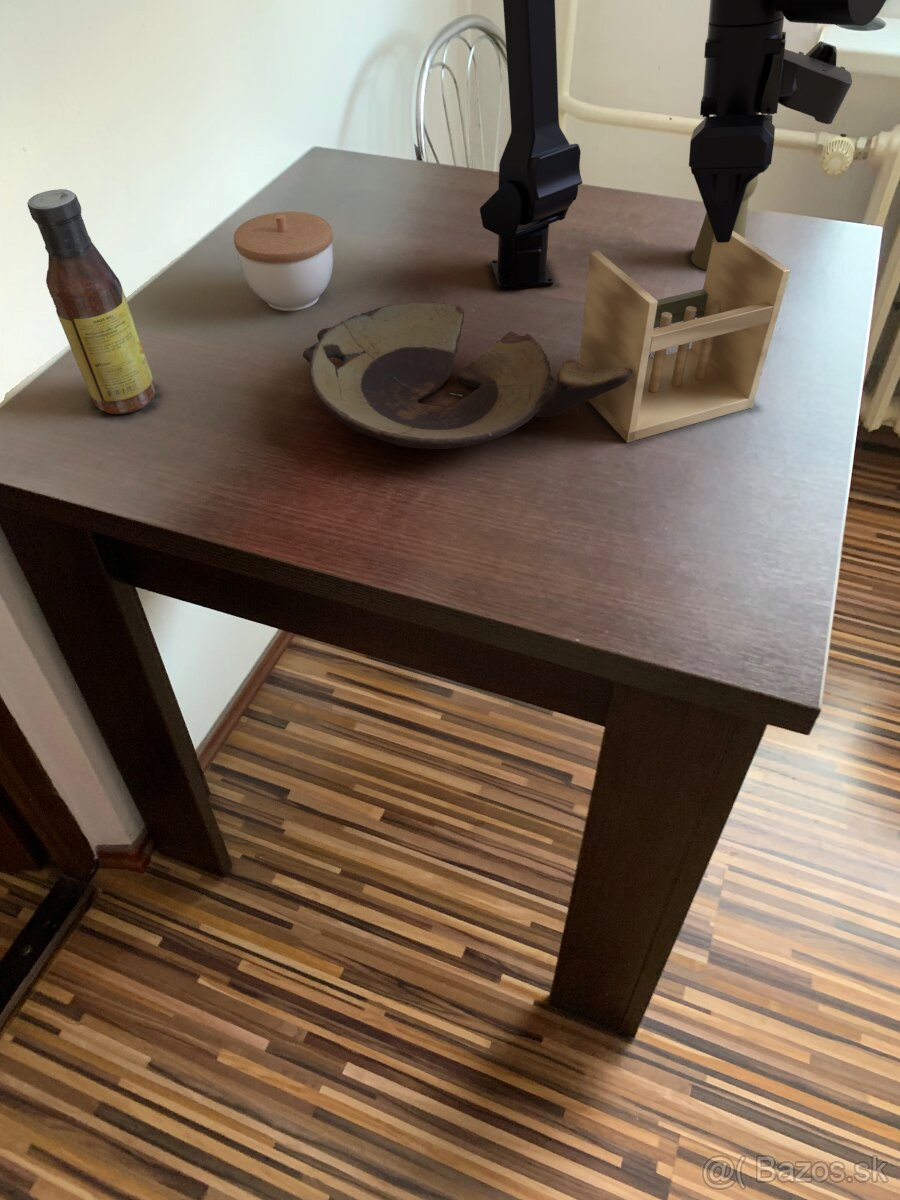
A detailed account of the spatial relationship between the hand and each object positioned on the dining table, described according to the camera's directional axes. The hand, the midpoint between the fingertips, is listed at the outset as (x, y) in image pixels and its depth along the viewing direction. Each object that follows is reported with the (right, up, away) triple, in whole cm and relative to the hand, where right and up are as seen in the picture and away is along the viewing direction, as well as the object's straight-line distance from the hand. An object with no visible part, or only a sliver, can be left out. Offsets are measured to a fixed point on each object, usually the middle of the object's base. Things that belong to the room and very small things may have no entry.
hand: (725, 223), depth 80 cm
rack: (-4, -14, +7) cm, 16 cm away
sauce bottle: (-58, -14, +9) cm, 60 cm away
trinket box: (-43, +1, +22) cm, 49 cm away
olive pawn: (+7, +7, +27) cm, 29 cm away
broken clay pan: (-25, -16, +6) cm, 30 cm away
